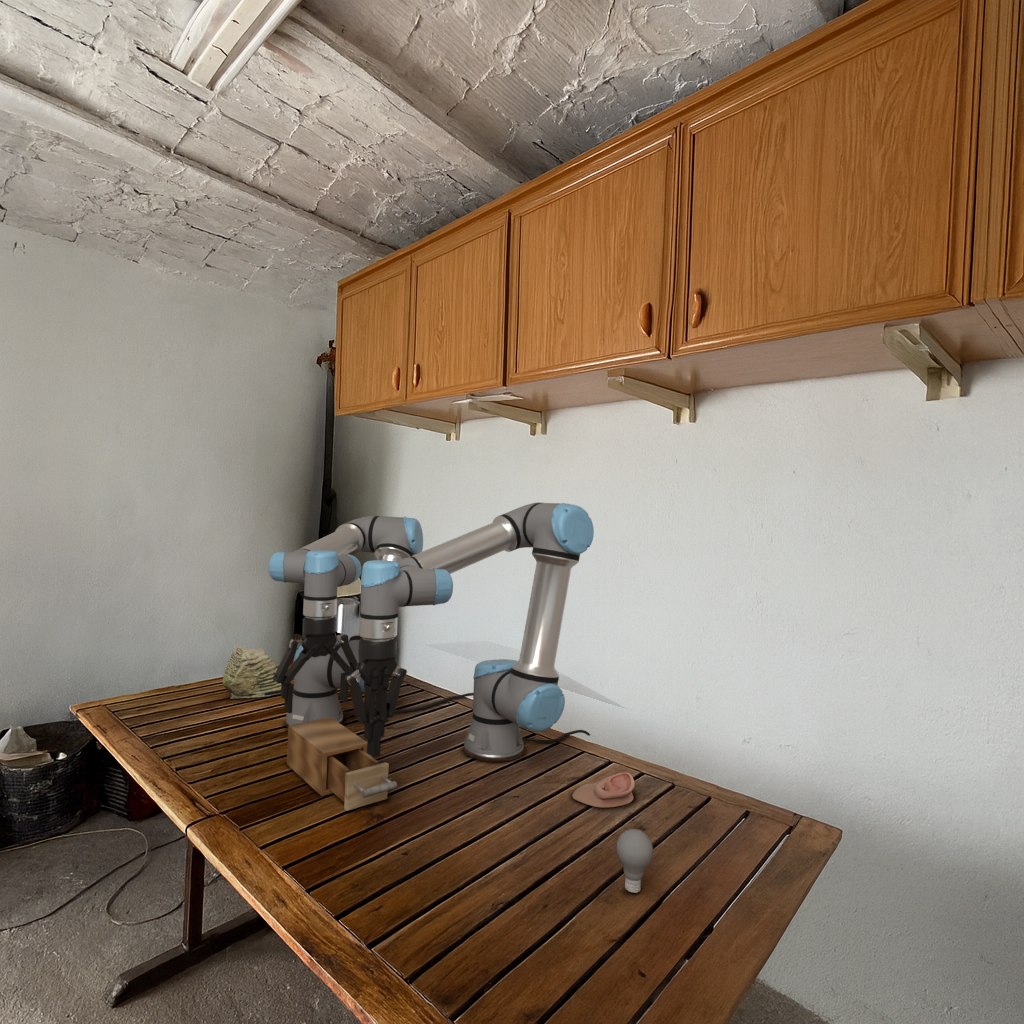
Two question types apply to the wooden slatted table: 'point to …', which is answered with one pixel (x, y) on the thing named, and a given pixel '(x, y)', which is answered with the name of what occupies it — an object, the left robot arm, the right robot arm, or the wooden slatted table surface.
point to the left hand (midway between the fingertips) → (316, 706)
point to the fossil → (250, 674)
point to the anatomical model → (607, 791)
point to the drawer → (358, 778)
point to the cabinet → (318, 749)
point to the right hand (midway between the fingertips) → (373, 753)
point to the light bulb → (634, 857)
